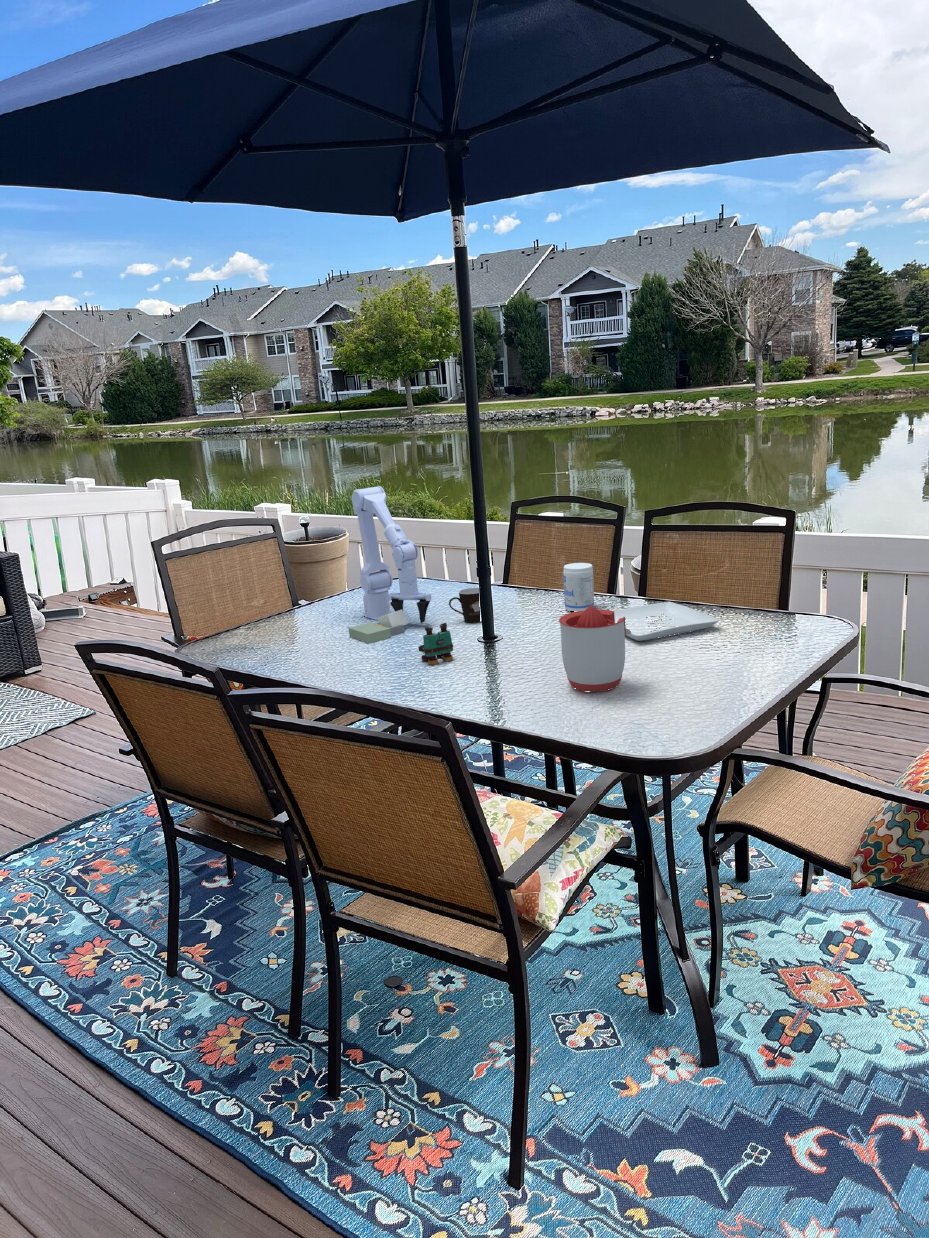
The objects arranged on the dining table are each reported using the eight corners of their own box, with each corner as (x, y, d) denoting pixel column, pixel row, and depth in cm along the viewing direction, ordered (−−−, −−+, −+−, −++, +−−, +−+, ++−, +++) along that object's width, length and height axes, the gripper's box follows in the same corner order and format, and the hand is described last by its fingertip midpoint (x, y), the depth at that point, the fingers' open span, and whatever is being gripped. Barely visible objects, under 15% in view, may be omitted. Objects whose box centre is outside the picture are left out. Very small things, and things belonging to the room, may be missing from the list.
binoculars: (438, 619, 237) (453, 622, 228) (443, 655, 239) (458, 660, 230) (409, 625, 233) (424, 629, 225) (415, 661, 235) (429, 666, 226)
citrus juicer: (646, 688, 197) (643, 606, 192) (578, 700, 193) (574, 617, 188) (616, 669, 212) (613, 593, 207) (552, 681, 207) (548, 603, 202)
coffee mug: (488, 616, 274) (486, 586, 271) (486, 623, 265) (484, 593, 263) (453, 618, 275) (450, 589, 272) (450, 625, 267) (447, 595, 264)
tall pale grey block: (382, 632, 265) (377, 618, 265) (397, 627, 270) (391, 612, 270) (393, 629, 262) (387, 614, 262) (407, 623, 267) (402, 609, 267)
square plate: (669, 611, 262) (669, 599, 261) (721, 631, 237) (721, 618, 236) (591, 625, 254) (591, 613, 253) (637, 647, 229) (636, 634, 228)
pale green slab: (349, 636, 264) (348, 627, 263) (387, 627, 272) (386, 617, 271) (368, 643, 254) (367, 633, 253) (407, 633, 262) (406, 623, 261)
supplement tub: (559, 610, 274) (556, 566, 270) (579, 604, 279) (577, 561, 275) (579, 614, 266) (577, 569, 262) (600, 608, 272) (598, 564, 268)
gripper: (433, 578, 267) (437, 618, 271) (393, 577, 273) (398, 617, 276) (424, 583, 261) (428, 624, 264) (383, 582, 267) (388, 623, 270)
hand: (412, 621), depth 270 cm, fingers open, 7 cm apart
